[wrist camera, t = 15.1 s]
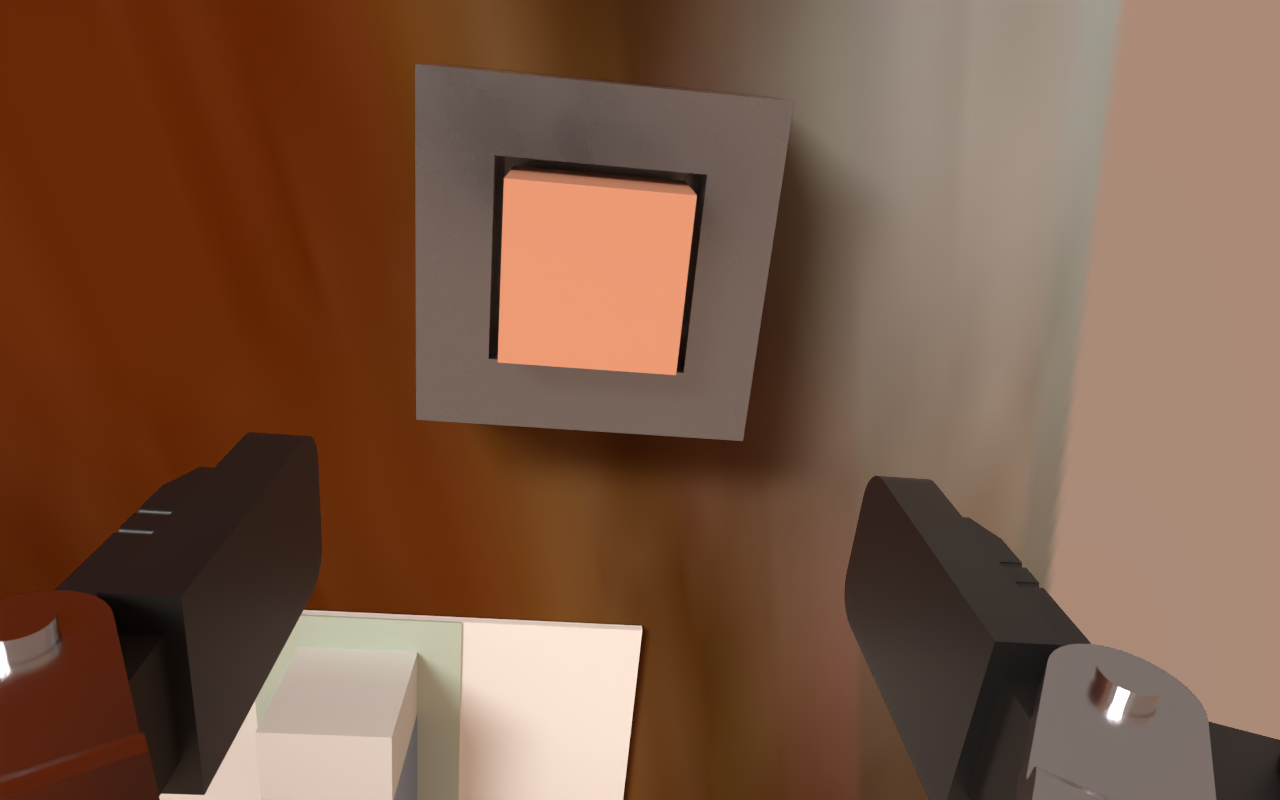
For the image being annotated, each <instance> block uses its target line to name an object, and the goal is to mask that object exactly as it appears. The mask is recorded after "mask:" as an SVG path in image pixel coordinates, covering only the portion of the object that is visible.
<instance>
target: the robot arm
mask: <svg viewBox="0 0 1280 800" xmlns="http://www.w3.org/2000/svg"><path fill="white" fill-rule="evenodd" d="M321 552H322V538H321V516H320V493H319V471H318V453H317V447H316V444H315V441H314V439H313V438H312V437H311V436H298V435H283V434H268V433H254V432H250V433H247V434H246V435H245V436H244V437H243V438H242V439H241V440H240V441H239V442H238V443H237V444H236V445H235V447H234V448H233V449H232V450H231V451H230V452H229V453H228V454H227V455H226V456H225V457H224V458H223V459H222V460H221V461H220V462H219V463H218V464H217V466H216V467H215V468H208V467H199V468H197V469H195V470H193V471H191V472H189V473H187V474H185V475H183V476H181V477H179V478H177V479H175V480H173V481H171V482H169V483H167V484H165V485H163V486H162V487H161V488H160V489H159V490H157V491H156V492H155V493H154V494H153V495H152V496H151V497H150V498H149V499H148V500H147V501H146V502H145V503H144V504H143V505H142V506H141V507H140V508H139V513H134V514H133V515H132V516H131V517H130V518H129V519H128V520H127V521H126V522H125V523H124V524H122V525H121V526H120V527H119V533H113V534H112V535H111V536H110V537H109V538H108V539H107V540H106V541H105V542H104V543H103V544H102V545H101V546H100V547H99V548H98V549H97V550H96V551H95V552H94V553H93V554H92V555H91V556H90V557H89V558H87V559H86V560H85V561H84V562H83V563H82V564H81V565H80V566H79V567H78V568H77V569H76V570H75V571H74V572H73V573H72V574H71V575H70V576H69V577H68V578H67V579H66V580H65V581H64V582H63V583H62V584H61V585H60V586H59V587H58V588H57V589H56V590H52V591H39V592H31V593H26V594H20V595H15V596H11V597H8V598H4V599H0V800H160V798H159V796H160V794H188V795H205V793H206V791H207V789H208V788H209V786H210V784H211V782H212V780H213V778H214V776H215V774H216V773H217V771H218V769H219V767H220V765H221V763H222V761H223V760H224V758H225V756H226V754H227V752H228V750H229V748H230V746H231V745H232V743H233V741H234V739H235V737H236V735H237V733H238V732H239V730H240V728H241V726H242V724H243V722H244V720H245V718H246V717H247V715H248V713H249V711H250V709H251V707H252V705H253V704H254V702H255V700H256V698H257V696H258V694H259V692H260V690H261V689H262V687H263V685H264V683H265V681H266V679H267V677H268V676H269V674H270V672H271V670H272V668H273V666H274V664H275V662H276V661H277V659H278V657H279V655H280V653H281V651H282V649H283V648H284V646H285V644H286V642H287V640H288V638H289V636H290V634H291V633H292V631H293V629H294V627H295V625H296V623H297V621H298V619H299V618H300V616H301V614H302V612H303V610H304V608H305V606H306V605H307V603H308V601H309V599H310V597H311V595H312V593H313V591H314V588H315V585H316V582H317V579H318V574H319V569H320V563H321ZM845 607H846V613H847V618H848V621H849V624H850V626H851V629H852V631H853V633H854V635H855V637H856V640H857V642H858V644H859V646H860V648H861V651H862V653H863V655H864V657H865V659H866V662H867V664H868V666H869V668H870V670H871V673H872V675H873V677H874V679H875V681H876V683H877V686H878V688H879V690H880V692H881V694H882V697H883V699H884V701H885V703H886V705H887V708H888V710H889V712H890V714H891V716H892V719H893V721H894V723H895V725H896V727H897V730H898V732H899V734H900V736H901V738H902V741H903V743H904V745H905V747H906V749H907V752H908V754H909V756H910V758H911V760H912V763H913V765H914V767H915V769H916V771H917V774H918V776H919V778H920V780H921V782H922V785H923V787H924V789H925V791H926V793H927V796H928V798H929V800H1280V740H1278V739H1273V738H1270V737H1266V736H1262V735H1258V734H1254V733H1250V732H1246V731H1243V730H1239V729H1235V728H1231V727H1227V726H1223V725H1219V724H1215V723H1212V722H1208V718H1207V714H1206V711H1205V709H1204V708H1203V706H1202V704H1201V702H1200V701H1199V700H1198V699H1197V697H1196V696H1195V695H1194V694H1193V693H1192V692H1191V691H1190V690H1189V689H1188V688H1187V687H1186V686H1185V685H1184V684H1182V683H1181V682H1180V681H1179V680H1178V679H1176V678H1175V677H1173V676H1172V675H1170V674H1169V673H1167V672H1166V671H1165V670H1163V669H1161V668H1159V667H1157V666H1156V665H1154V664H1152V663H1150V662H1148V661H1146V660H1144V659H1142V658H1140V657H1137V656H1135V655H1132V654H1129V653H1127V652H1124V651H1121V650H1117V649H1114V648H1110V647H1105V646H1101V645H1094V644H1091V643H1090V642H1089V641H1088V639H1087V638H1086V637H1085V636H1084V635H1083V634H1082V632H1081V631H1080V630H1079V629H1078V628H1077V627H1076V626H1075V624H1074V623H1073V622H1072V621H1071V620H1070V618H1069V617H1068V616H1067V615H1066V614H1065V613H1064V612H1063V610H1062V609H1061V608H1060V607H1059V606H1058V604H1057V603H1056V602H1055V601H1054V600H1053V599H1052V597H1051V596H1050V595H1049V594H1048V593H1047V592H1046V590H1045V589H1044V588H1039V582H1038V581H1037V580H1036V579H1035V578H1034V576H1033V575H1032V574H1031V573H1030V572H1029V571H1028V569H1027V568H1022V562H1021V561H1020V560H1019V559H1018V558H1017V557H1016V555H1015V554H1014V553H1013V552H1012V551H1011V550H1010V549H1009V547H1008V546H1007V545H1006V544H1005V543H1004V542H1003V540H1002V539H1000V538H999V537H997V536H996V535H994V534H993V533H991V532H990V531H988V530H987V529H985V528H984V527H982V526H981V525H979V524H978V523H976V522H975V521H973V520H972V519H970V518H965V517H962V516H961V515H960V514H959V512H958V511H957V510H956V509H955V507H954V506H953V505H952V504H951V502H950V501H949V500H948V499H947V498H946V496H945V495H944V494H943V493H942V491H941V490H940V489H939V488H938V486H937V485H936V484H935V483H934V482H933V481H931V480H928V479H914V478H899V477H885V476H874V477H873V478H871V480H870V481H869V483H868V485H867V487H866V489H865V493H864V497H863V501H862V506H861V510H860V515H859V519H858V524H857V528H856V533H855V538H854V542H853V547H852V551H851V556H850V560H849V565H848V570H847V574H846V580H845Z"/></svg>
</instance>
